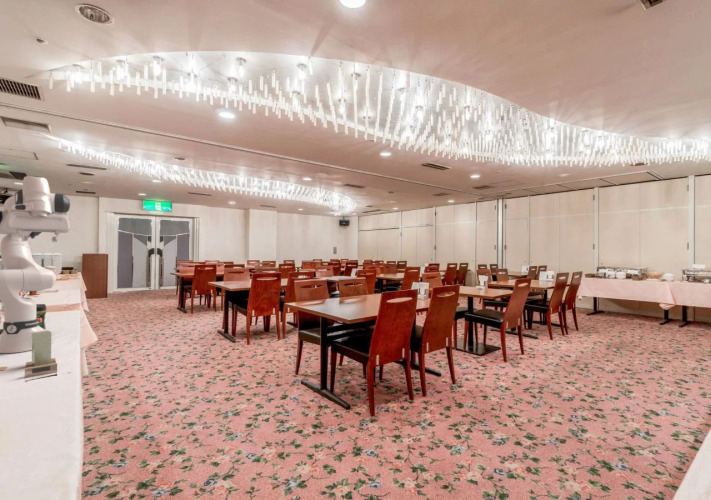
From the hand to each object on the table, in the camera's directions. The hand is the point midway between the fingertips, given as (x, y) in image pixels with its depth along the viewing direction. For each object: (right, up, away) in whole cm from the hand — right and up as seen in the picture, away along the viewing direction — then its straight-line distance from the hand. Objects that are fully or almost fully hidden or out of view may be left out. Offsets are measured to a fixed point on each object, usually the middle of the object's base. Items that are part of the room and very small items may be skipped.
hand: (40, 241), depth 143 cm
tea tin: (+3, -51, -3) cm, 51 cm away
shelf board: (+7, -52, -7) cm, 53 cm away
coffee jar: (-44, -53, +44) cm, 82 cm away
